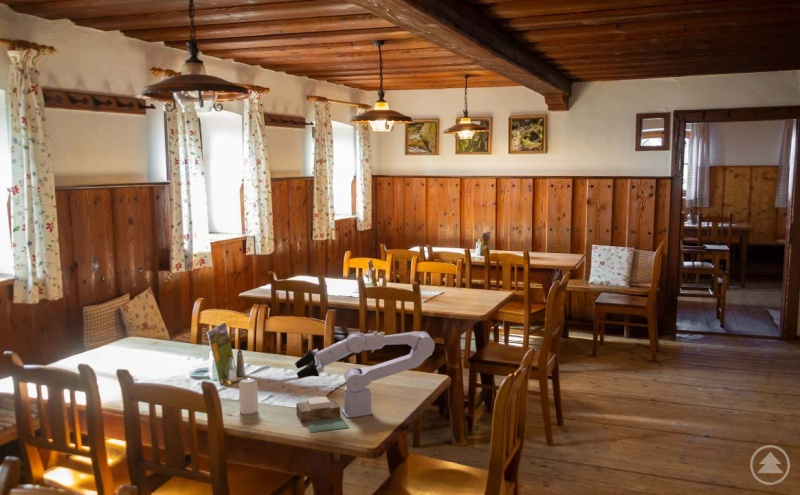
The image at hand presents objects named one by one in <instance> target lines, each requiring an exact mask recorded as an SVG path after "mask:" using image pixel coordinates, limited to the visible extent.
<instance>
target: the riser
mask: <svg viewBox="0 0 800 495" xmlns="http://www.w3.org/2000/svg"><path fill="white" fill-rule="evenodd" d="M328 400H329V401H330V407H329V408H320V409H312V410H310V408H309V406H308V405H307V401H306V402H304V401H303V402H296V404H295V405H296V415H297V417H298V420H299V421H300V423H302V424H304V423H306V422H308V421H316V420H324V419H332V418H340V417H341V405H339V403H338V402H337V401H336V400H335V398H331V399H329V398H328Z"/></svg>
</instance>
